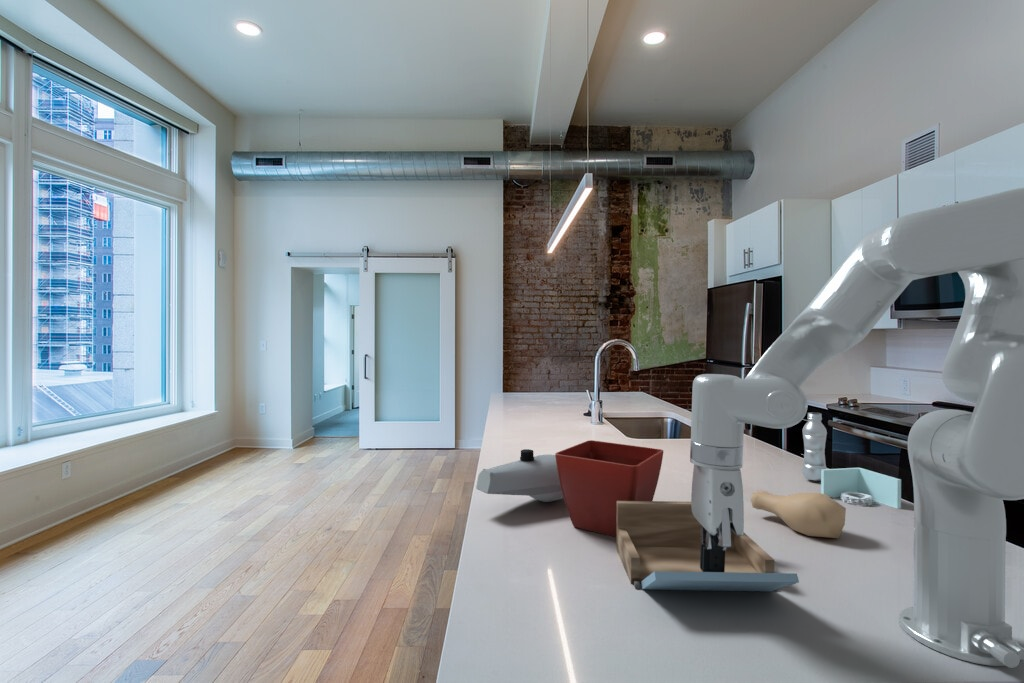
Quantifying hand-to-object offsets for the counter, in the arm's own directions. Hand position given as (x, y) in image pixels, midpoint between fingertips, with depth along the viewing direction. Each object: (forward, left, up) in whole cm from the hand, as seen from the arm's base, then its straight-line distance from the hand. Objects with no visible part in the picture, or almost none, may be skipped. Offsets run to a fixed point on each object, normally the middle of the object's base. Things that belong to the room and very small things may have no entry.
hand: (712, 571), depth 78 cm
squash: (+35, -31, -6) cm, 47 cm away
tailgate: (+6, -1, -6) cm, 8 cm away
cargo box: (+15, -1, -6) cm, 16 cm away
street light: (+49, +28, -6) cm, 57 cm away
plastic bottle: (+75, -57, -6) cm, 94 cm away
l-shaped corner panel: (+54, -57, -7) cm, 79 cm away
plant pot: (+36, +10, -6) cm, 38 cm away
